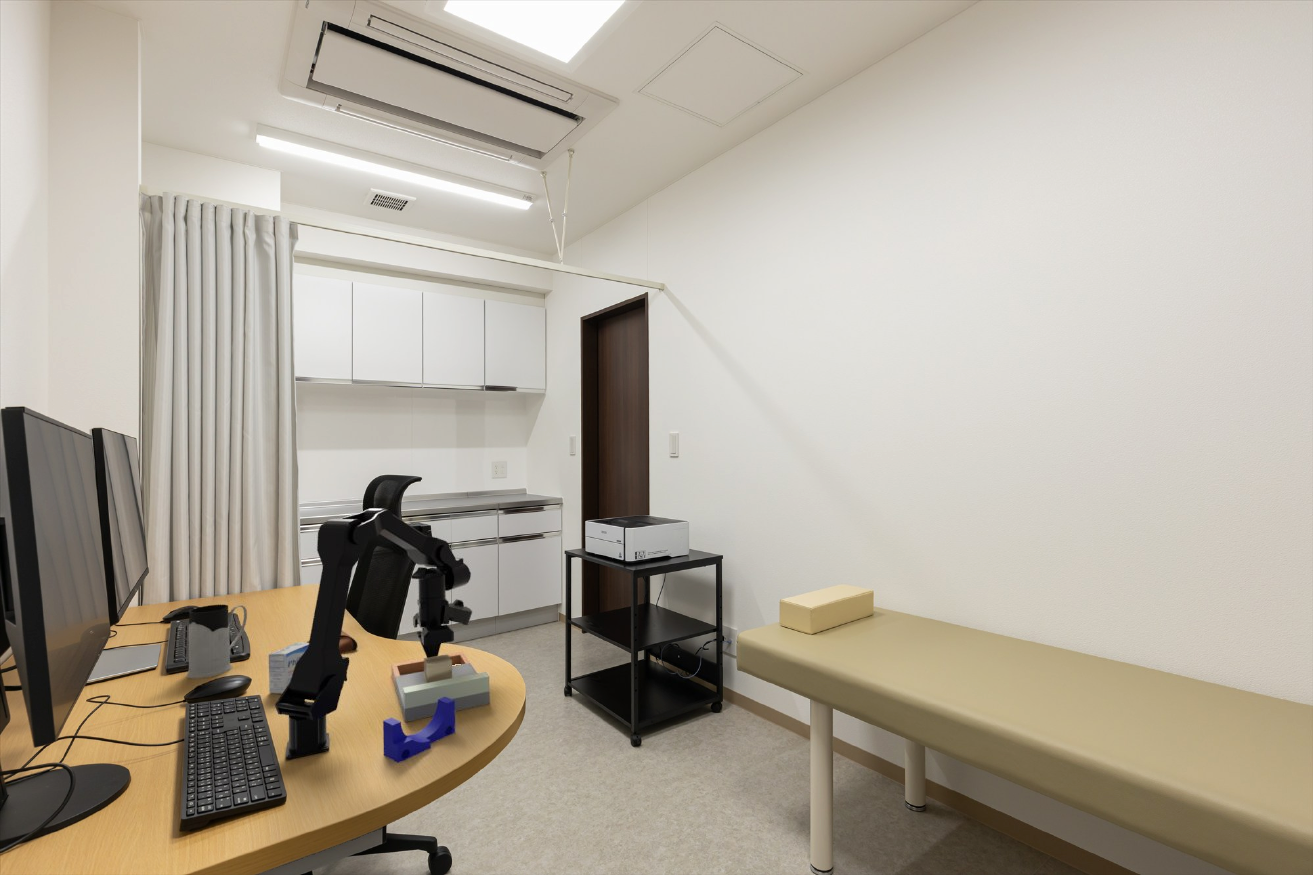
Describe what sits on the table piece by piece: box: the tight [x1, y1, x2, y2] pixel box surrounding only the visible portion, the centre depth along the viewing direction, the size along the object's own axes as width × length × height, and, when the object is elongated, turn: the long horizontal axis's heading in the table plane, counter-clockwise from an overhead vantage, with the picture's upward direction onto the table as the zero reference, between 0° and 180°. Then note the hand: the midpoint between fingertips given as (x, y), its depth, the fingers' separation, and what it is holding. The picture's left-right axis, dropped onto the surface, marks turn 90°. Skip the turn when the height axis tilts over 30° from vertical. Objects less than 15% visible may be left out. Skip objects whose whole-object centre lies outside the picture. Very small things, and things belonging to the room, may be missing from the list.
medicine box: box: [268, 642, 309, 695], centre depth 134 cm, size 8×4×9 cm, turn 168°
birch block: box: [424, 653, 452, 683], centre depth 131 cm, size 5×5×4 cm
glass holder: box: [186, 604, 248, 679], centre depth 147 cm, size 9×14×15 cm, turn 166°
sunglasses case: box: [306, 630, 358, 654], centre depth 162 cm, size 18×7×7 cm
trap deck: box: [390, 651, 491, 723], centre depth 131 cm, size 28×16×6 cm, turn 29°
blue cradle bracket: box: [382, 697, 456, 764], centre depth 106 cm, size 12×4×6 cm, turn 143°
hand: (432, 665), depth 136 cm, fingers closed
